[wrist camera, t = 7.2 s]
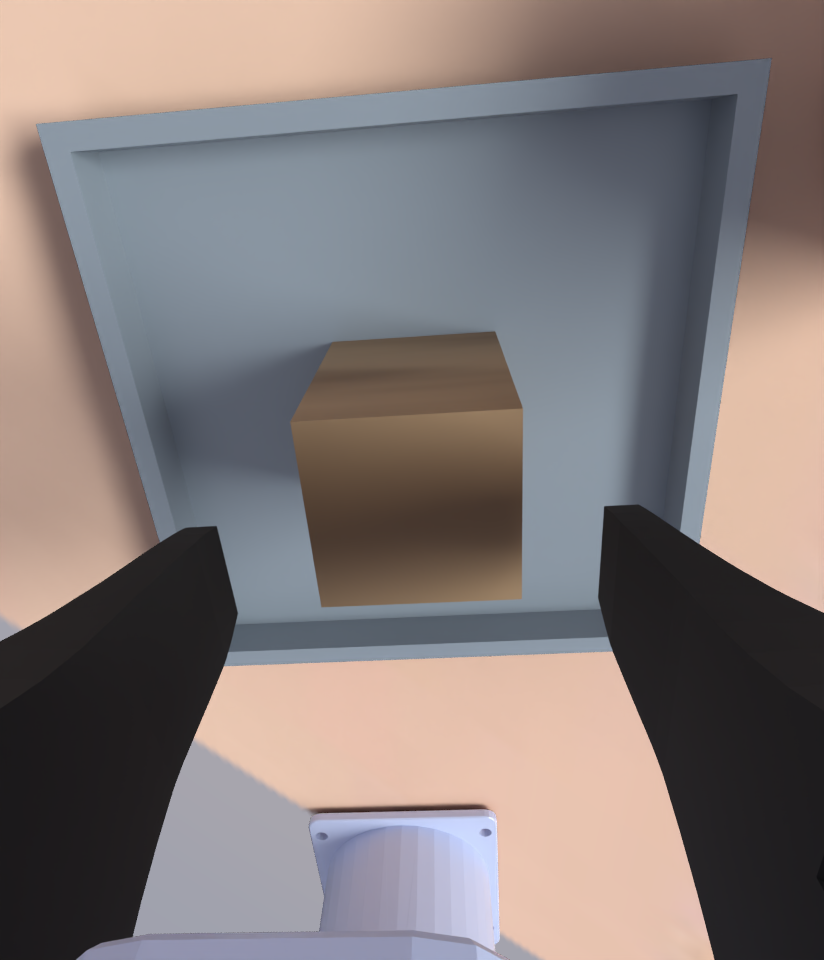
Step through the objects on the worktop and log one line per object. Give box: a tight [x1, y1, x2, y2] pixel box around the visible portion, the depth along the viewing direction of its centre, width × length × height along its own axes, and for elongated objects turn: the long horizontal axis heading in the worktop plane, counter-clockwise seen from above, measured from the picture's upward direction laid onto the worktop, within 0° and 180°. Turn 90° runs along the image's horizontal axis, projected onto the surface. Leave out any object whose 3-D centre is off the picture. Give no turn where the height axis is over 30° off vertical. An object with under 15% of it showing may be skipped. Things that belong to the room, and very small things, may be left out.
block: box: [290, 331, 523, 607], centre depth 16 cm, size 4×4×6 cm
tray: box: [36, 58, 772, 666], centre depth 18 cm, size 16×16×2 cm
